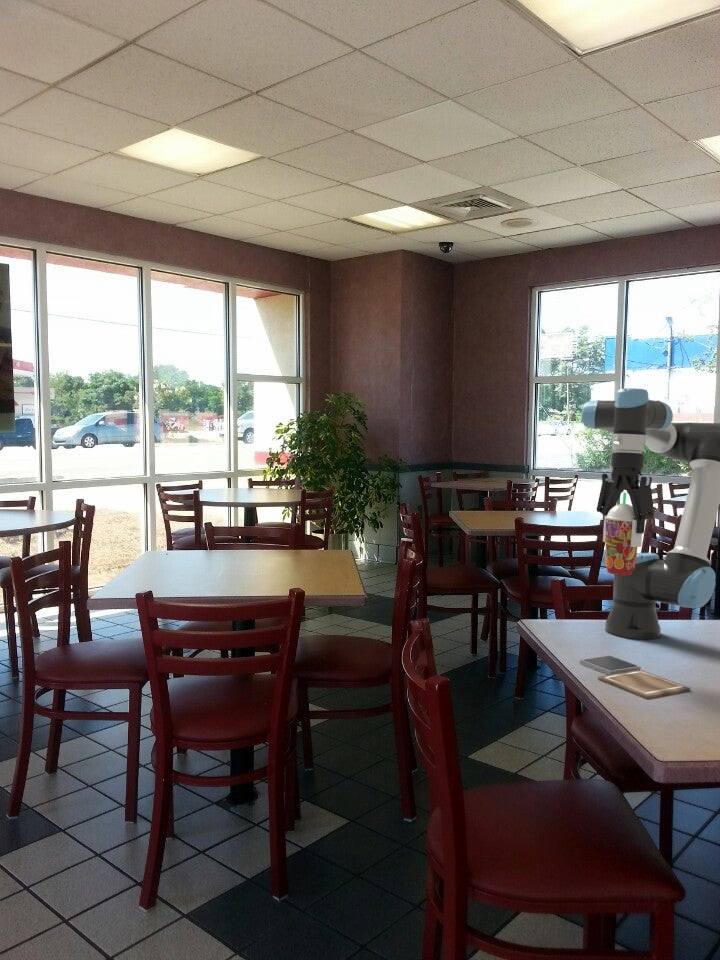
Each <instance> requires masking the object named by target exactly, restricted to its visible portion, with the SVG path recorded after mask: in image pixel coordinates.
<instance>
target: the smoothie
mask: <svg viewBox="0 0 720 960" xmlns="http://www.w3.org/2000/svg"><path fill="white" fill-rule="evenodd" d="M622 493H623V495H622V503H617V504H616V506H614V507H612V508H611V509H610V511H609V512H608V514H607V516H606V517H605V518H606V542H605V553H604V554H605V556H604V557H605V561H604V562H605V565H604V566H605V568H606V569H607V570H606V571H607V573H608V574H610V575H614V574H615V575H631V574H632V571H633V570H634V569H635V562H636V554H637V553H638V547H631V536H632V522H633V520H634V518H635V514H634V510H633V507H632V505H630V504H628V503H626V502H627V500H626V499H627V492H622Z"/></svg>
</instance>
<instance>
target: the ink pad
mask: <svg viewBox="0 0 720 960" xmlns="http://www.w3.org/2000/svg"><path fill="white" fill-rule="evenodd" d="M579 664H580V665H582V666H584V667H587V668H590V669H591V670H592V669H593V670H595V671H598V672H600V673H602V674H605V675H613V674H619V673H625V672H631V671H637V670H641V666H640V665H637V664H635V663H632V662H629V661H625V660H623V659H621V658H619V657H618V658H617V657H615V656H613V655H608V654H607V655H602V656H596V657H589V658H582V659H579Z"/></svg>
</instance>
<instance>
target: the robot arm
mask: <svg viewBox="0 0 720 960" xmlns="http://www.w3.org/2000/svg"><path fill="white" fill-rule="evenodd" d="M580 416H581V422H582V424H583V426H584V427H585V428H587V429H592V430H598V429H599V430H605V431H607V432H610V433H613V434H612V435H613V436H612V445H611V446H612V447H611V448H612V450H614V452H612V453H611V460H610V466H611V467H612V470H611V471H612V472H611V473H602V474H601V487H600V492H599V497H598V501H597V504H596V505H597V506H596V512H597V513H600V514H601V516H602V523H601V525H602V526H601V527H602V528H603V532H602V533H603V534H602V542H604V543H606V518H605V517H606V516H607V514H608V512H609V511H610V509H611V508H612V507H614V506H616V505H618V502H619V500H620V498H621V494H622V493H624V491H626V494H628V496H629V499H630V502H631V506H632V507H633V510H634V514H635V518H634V520H633V522H632V536H631V547H637V548H641V547H642V543H643V542H642V540H643V535H644V534H645V526H646V521H647V520H648V519H652V518H653V517H654V514H653V503H652V502H653V501H652V490H651V489H652V488H651V487H652V481H653V478H652V477H651V476H644V475H643V474H642V469H644V461H645V455H644V453H643V452H645V451H646V447H647V449H648V450H649V451H651V452H653V453H655V454H657V455H661V456H663V457H667V458H668V459H672V460H676V461H678V462H685V463H689V466H690V468H691V469H692V471H693V472H692V475H691V479H690V484H689V488H688V490H687V491H688V492H687V495H686V499H685V504H684V508H683V511H682V515H681V518H680V523H679V528H678V531H677V536H676V539H675V542H674V543H675V544H674V546H673V549H671V550H669V551H667V552H666V555H665V559H664V560H662V559H660V556H659V554H657V553H655V552H650V553H649V552H637V554H636V562H635V569H634V570H633V571H632V574H631V575H615V574H613V593H612V594H613V597H612V605H611V607H610V609H609V613H608V615H607V619H606V620H605V627H604V630H605V632H607V633H609V634H612V635H614V636H617V637H618V636H619V637H622V638H628V639H634V640H635V639H636V640H638V639H639V640H651V639H657V638H659V637H660V636H661V629H662V628H661V626H660V624H659V622H660V621H659V619H658V614H657V610H656V603H657V602H658V603H663V604H668V605H673V606H678V607H682V608H691V609H700V608H702V607H704V606H705V605H706V604H708V602H709V601H710V599H711V598H712V595H713V593H714V592H715V591H714V590H715V588H716V577H717V576H716V573H715V571H714V569H713V568H712V567H711V566H712V562H711V561H710V559H709V558H708V553H709V552H708V551H709V547H710V544H711V540H712V536H713V532H714V527H715V523H716V520H717V516H718V511H719V507H720V422H673V418H674V413H673V410H672V408H671V406H670V405H669V404H667V403H666V402H664V401H661V400H654V399H653V400H652V399H650V398H649V392H648V390H647V389H644V388H629V387H628V388H625V387H624V388H620V389H617V391H616V394H615V400H600V399H597V400H588V401H587V402H586V403H585V404H584V405H583V407H582V409H581V415H580Z"/></svg>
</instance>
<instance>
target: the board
mask: <svg viewBox="0 0 720 960" xmlns="http://www.w3.org/2000/svg"><path fill="white" fill-rule="evenodd" d="M597 680H598V681H600V682H603V683H606V684H608V685H610V686H612V687H613V686H614V687H616V688H618V689H620V690H623V691H626V692H628V693H630V694H633V695H635V696H638V697H641V698H643V699H646V700H647V699H652V698H654V699H655V698H658V697H663V696H669V695H673V694H677V693H679V694H680V693H684V692H688V691H691V687H689V686H686V685H684V684H681V683H678V682H676V681H673V680H670V679H668V678H665V677H662V676H660V675H657V674H656V675H655V674H653V673H650V672H648V671H646V670H642V669H640V670H637V671H631V672H625V673H619V674H613V675H608V674H606V675H603V676H598V677H597Z"/></svg>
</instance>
